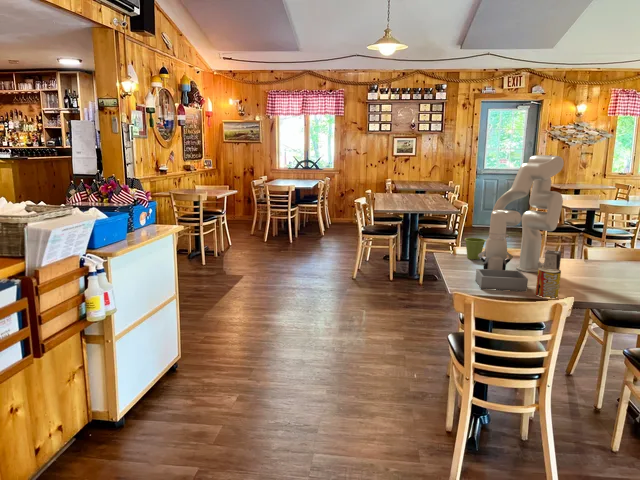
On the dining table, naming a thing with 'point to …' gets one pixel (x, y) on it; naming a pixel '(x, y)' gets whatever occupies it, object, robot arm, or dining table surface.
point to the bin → (501, 280)
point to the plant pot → (474, 247)
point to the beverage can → (548, 282)
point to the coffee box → (552, 259)
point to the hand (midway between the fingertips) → (494, 271)
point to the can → (495, 263)
